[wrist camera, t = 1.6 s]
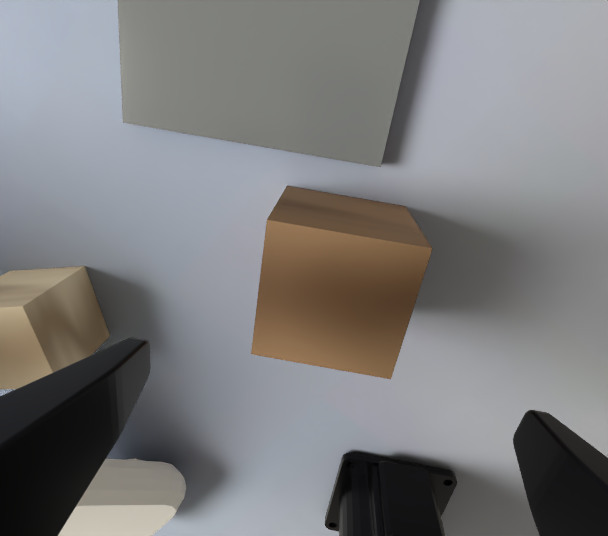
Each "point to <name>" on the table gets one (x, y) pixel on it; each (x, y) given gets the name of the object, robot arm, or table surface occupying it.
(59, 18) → the table surface
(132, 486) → the white elongated block
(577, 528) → the robot arm
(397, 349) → the walnut cube
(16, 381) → the maple cube
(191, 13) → the plate
